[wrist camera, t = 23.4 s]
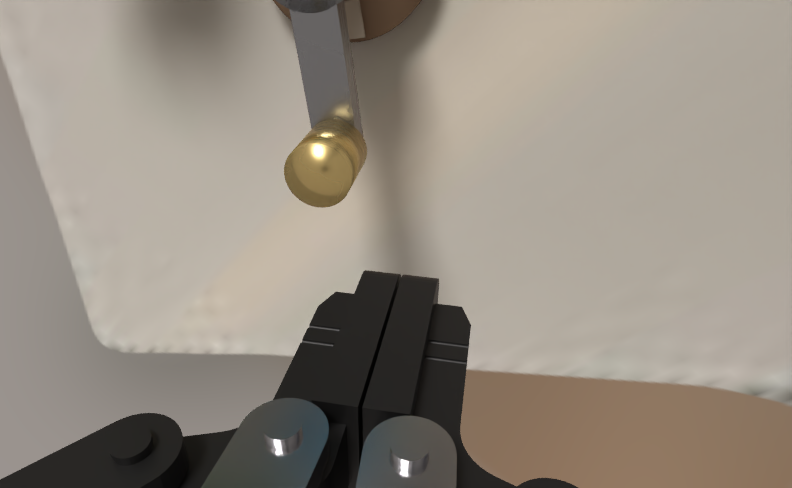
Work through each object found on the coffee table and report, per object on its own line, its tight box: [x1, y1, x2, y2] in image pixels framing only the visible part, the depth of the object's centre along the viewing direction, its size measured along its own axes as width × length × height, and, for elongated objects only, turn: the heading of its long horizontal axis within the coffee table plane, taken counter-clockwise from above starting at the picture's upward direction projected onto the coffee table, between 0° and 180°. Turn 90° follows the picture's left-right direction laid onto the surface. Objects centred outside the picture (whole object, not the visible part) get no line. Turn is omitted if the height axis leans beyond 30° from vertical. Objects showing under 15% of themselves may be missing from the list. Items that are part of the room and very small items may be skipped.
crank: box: [276, 0, 367, 207], centre depth 23 cm, size 12×4×4 cm, turn 6°
